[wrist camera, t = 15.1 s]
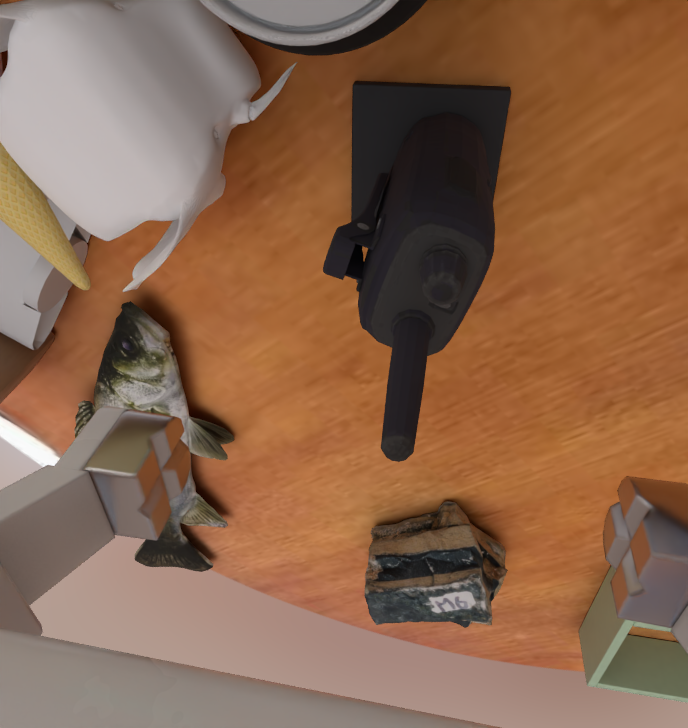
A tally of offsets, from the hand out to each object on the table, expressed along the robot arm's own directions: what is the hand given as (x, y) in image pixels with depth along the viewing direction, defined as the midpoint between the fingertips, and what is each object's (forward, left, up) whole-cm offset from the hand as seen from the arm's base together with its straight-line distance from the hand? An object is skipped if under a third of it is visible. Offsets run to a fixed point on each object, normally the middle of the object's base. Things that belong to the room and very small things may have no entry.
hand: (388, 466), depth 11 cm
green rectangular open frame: (-19, +30, -17) cm, 39 cm away
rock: (-3, +26, -17) cm, 32 cm away
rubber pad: (0, 0, -17) cm, 17 cm away
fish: (+11, +21, -16) cm, 29 cm away
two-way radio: (0, 0, -17) cm, 17 cm away
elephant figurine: (+11, -2, -17) cm, 21 cm away
